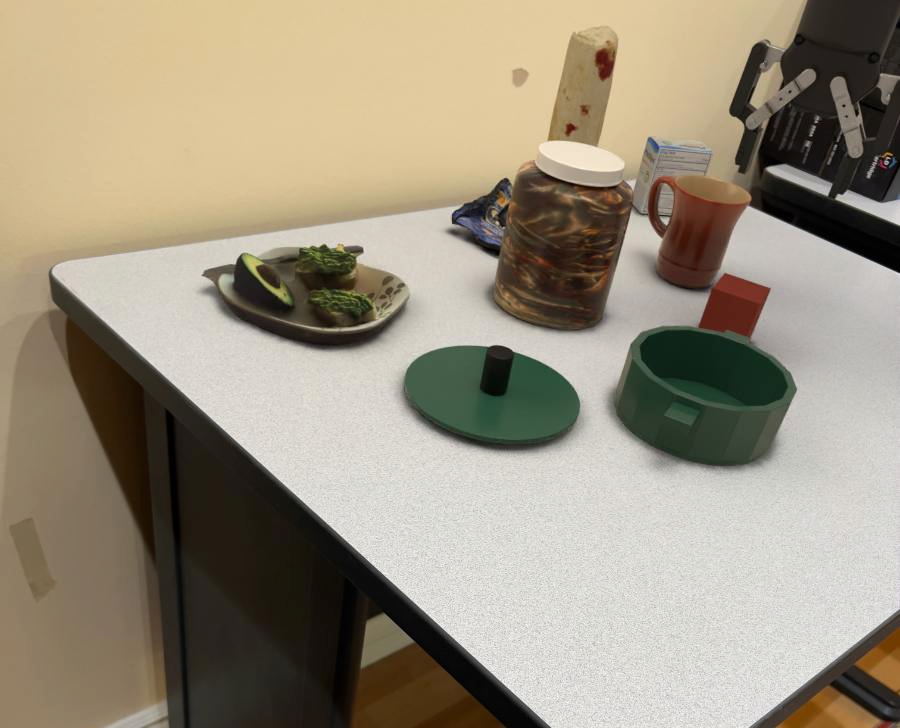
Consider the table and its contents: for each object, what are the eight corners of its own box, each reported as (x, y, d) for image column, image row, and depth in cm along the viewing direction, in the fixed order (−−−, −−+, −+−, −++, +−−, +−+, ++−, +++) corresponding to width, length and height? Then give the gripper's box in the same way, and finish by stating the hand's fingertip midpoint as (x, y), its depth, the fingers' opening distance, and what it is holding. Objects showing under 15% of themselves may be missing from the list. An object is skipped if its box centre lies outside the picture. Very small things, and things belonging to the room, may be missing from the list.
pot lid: (602, 396, 82) (616, 350, 79) (534, 473, 71) (547, 423, 68) (454, 339, 86) (462, 292, 83) (369, 403, 75) (374, 353, 72)
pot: (791, 404, 86) (815, 353, 83) (742, 502, 73) (768, 446, 69) (652, 352, 90) (669, 301, 86) (580, 436, 76) (596, 379, 73)
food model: (582, 215, 116) (625, 40, 103) (532, 205, 116) (568, 28, 103) (585, 191, 123) (626, 25, 110) (539, 181, 123) (573, 13, 110)
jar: (575, 280, 100) (611, 137, 90) (619, 330, 93) (663, 180, 82) (478, 279, 97) (504, 131, 87) (515, 331, 89) (548, 175, 79)
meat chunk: (749, 341, 95) (771, 288, 91) (738, 358, 92) (760, 303, 88) (705, 325, 97) (725, 272, 93) (692, 342, 93) (712, 287, 89)
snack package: (567, 255, 106) (523, 213, 113) (573, 202, 101) (526, 161, 108) (476, 276, 103) (436, 231, 110) (477, 222, 98) (436, 179, 105)
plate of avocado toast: (294, 240, 97) (295, 197, 94) (439, 291, 93) (446, 247, 90) (182, 300, 83) (179, 252, 80) (347, 362, 80) (351, 314, 76)
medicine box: (680, 206, 125) (701, 140, 119) (693, 218, 122) (715, 151, 116) (629, 202, 123) (647, 134, 117) (640, 214, 120) (660, 146, 114)
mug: (733, 286, 106) (766, 197, 99) (691, 300, 101) (723, 208, 94) (655, 247, 112) (682, 161, 105) (612, 258, 107) (636, 169, 100)
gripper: (957, -7, 73) (868, 196, 84) (788, -45, 77) (724, 155, 88) (950, 1, 68) (856, 217, 79) (769, -39, 71) (703, 172, 82)
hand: (786, 184), depth 83 cm, fingers open, 8 cm apart
